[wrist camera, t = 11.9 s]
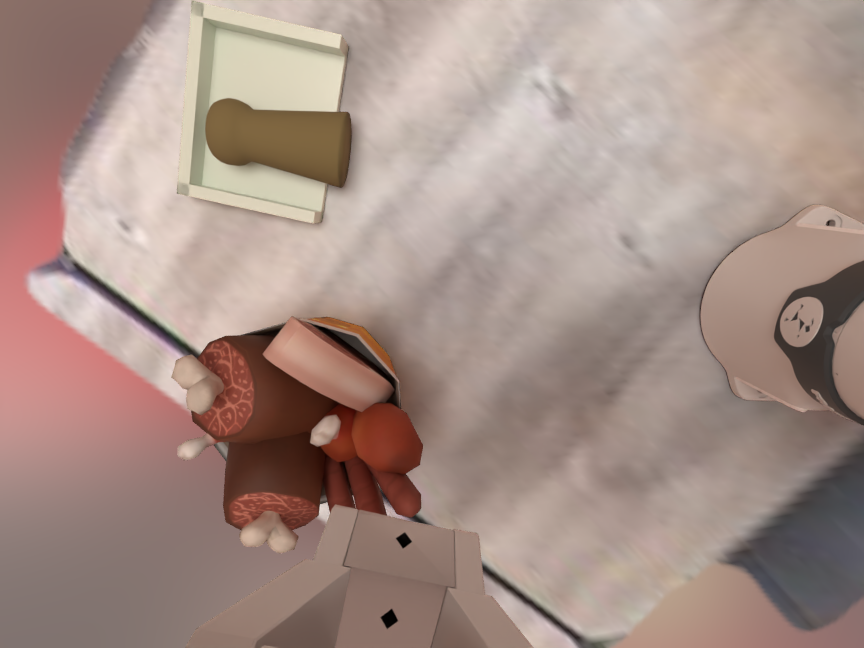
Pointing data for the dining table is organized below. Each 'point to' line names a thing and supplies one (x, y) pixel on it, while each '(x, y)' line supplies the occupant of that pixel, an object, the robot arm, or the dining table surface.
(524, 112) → the dining table surface
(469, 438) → the dining table surface
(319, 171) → the brown chess pawn
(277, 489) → the bucket of meat
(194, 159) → the tray
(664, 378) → the dining table surface
